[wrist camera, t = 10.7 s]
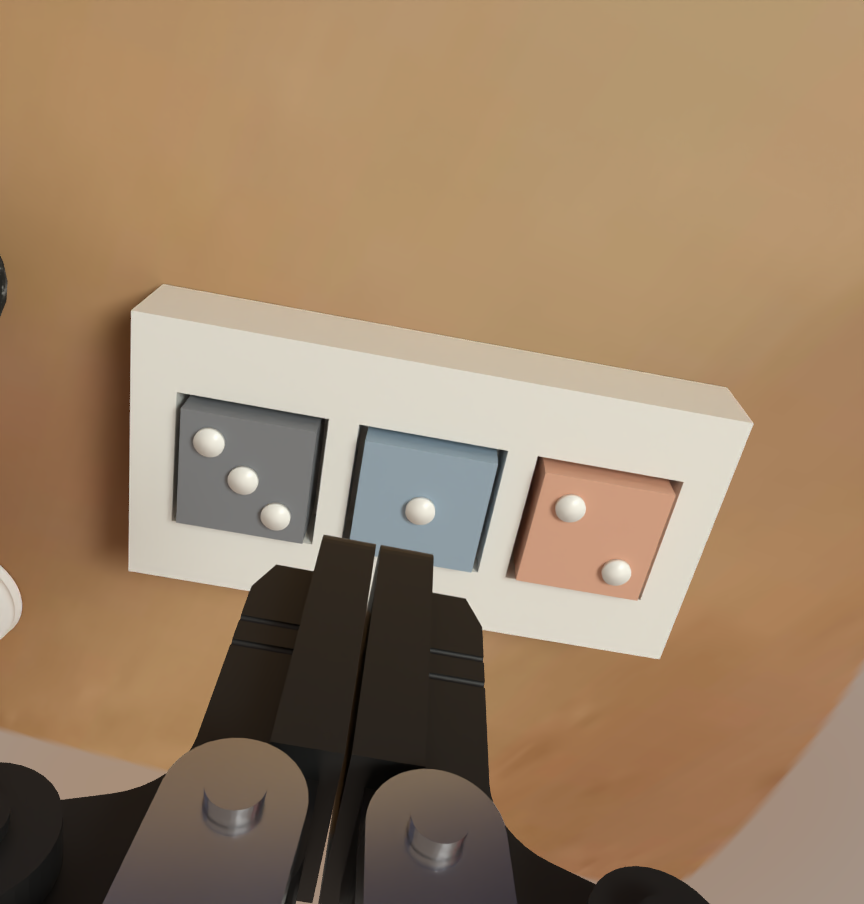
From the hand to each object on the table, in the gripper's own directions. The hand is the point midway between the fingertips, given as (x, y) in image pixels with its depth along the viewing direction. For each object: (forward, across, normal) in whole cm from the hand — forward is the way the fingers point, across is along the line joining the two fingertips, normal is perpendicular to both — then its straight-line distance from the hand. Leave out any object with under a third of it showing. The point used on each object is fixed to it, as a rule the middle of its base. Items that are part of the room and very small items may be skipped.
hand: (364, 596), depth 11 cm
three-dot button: (+17, +4, +8) cm, 19 cm away
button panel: (+18, -2, +8) cm, 20 cm away
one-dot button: (+17, -2, +7) cm, 19 cm away
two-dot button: (+17, -8, +7) cm, 20 cm away
